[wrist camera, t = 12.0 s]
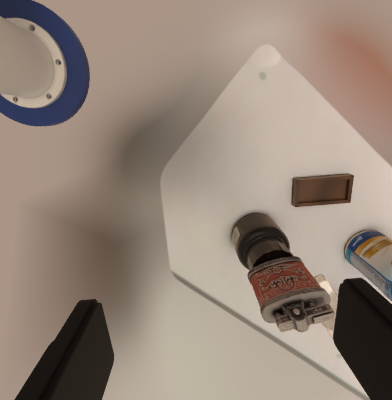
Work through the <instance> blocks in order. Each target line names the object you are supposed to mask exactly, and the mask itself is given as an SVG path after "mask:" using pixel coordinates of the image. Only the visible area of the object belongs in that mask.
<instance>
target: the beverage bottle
mask: <svg viewBox="0 0 392 400" xmlns="http://www.w3.org/2000/svg"><path fill="white" fill-rule="evenodd" d="M345 256H346V258H347V260H348V262H349V263H350V264H351V265H353V266H354V267H355V268H356V269H357V270H359V271H360V272H361V273H362V274H363V275H364V276H365V277H366V278H368V279H369V280H370V281H371V282H372V283H373V284H374V285H375V286H376V287H378V288H379V289H380V290H381V291H382V292H383V293H384V295H385V296H386V297H387V298H389V299H390V300H391V301H392V240H391V239H389V238H388V237H386V236H385V235H383V234H381V233H380V232H377V231H372V230H368V231H363V232H360V233H358V234H356V235H355V236H353V237H352V238H351V239H350V240H349V242H348V243H347V246H346V249H345Z"/></svg>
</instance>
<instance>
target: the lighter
mask: <svg viewBox="0 0 392 400" xmlns="http://www.w3.org/2000/svg"><path fill="white" fill-rule="evenodd" d="M248 279H249V282H250V284H251V285H252V286H253V289H254V292H255V294H256V297H257V300H258V302H259V305H260V308H261V309H260V311H261V314H262V317H263V319H264V320H265V321H266V322H268V323H276V324H277V326H278V328H279V331H280V332H286V331H289V330H293V329H295V330H297V331H299V332H304V331H306V330H308V326H309V325H312V324H318V323H322V322H325V321H329V320H333V319H334V318H335V312H334V310H333V309H332V308H331V306H330V305H329V304H330V302H331V298H330V295H329V294H328V293H327V291H326V290H325V289H324V288H321V286H320V285H319V284H318V283H317V281H316V280H315V279H314V278H313V276H312V275H311V274H310V272H309V271H308V270H307V269H306V267H305V265H304V263H303V262H302V260H301V259H300V258H299V257H296V256H293V257H285V258H280V259H276V260H272V261H269V262H266V263H263V264H261V265H259V266H257V267H254V268H252V269H251V270H250V271H249V272H248Z"/></svg>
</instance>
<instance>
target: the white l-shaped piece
mask: <svg viewBox="0 0 392 400" xmlns="http://www.w3.org/2000/svg"><path fill="white" fill-rule="evenodd" d="M315 279H316V281H317V283H318V284H319V285H320V286H321V288H324V289H325V290H326V291H327V293H328V294H329V295H330V298H331V302H330V304H329V305H330V306H331V308H332V309H333V310H334V312H335V317H336V309H337V302H338V297H337V295H336V294H335V293H334V292H333V290H332V288H331V286H330V285H329V283H328V281H327V280H326V279H325V278H324V277H323V276H322V275H319V276H317V277H315ZM322 324H323V325H324V327H325V328H326V330H327V332H328V333H329V335H330V336H331V337H332V339H333V332H334V324H335V318H334V319H333V320H329V321H325V322H322Z"/></svg>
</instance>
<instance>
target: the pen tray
mask: <svg viewBox="0 0 392 400" xmlns="http://www.w3.org/2000/svg"><path fill="white" fill-rule="evenodd" d="M353 178H354V175H350V174H339V175H326V176H314V177H301V178H293V188H292V205H293V206H295V207H301V206H314V205H326V204H339V203H350V202H351V193H352V186H353Z"/></svg>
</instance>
